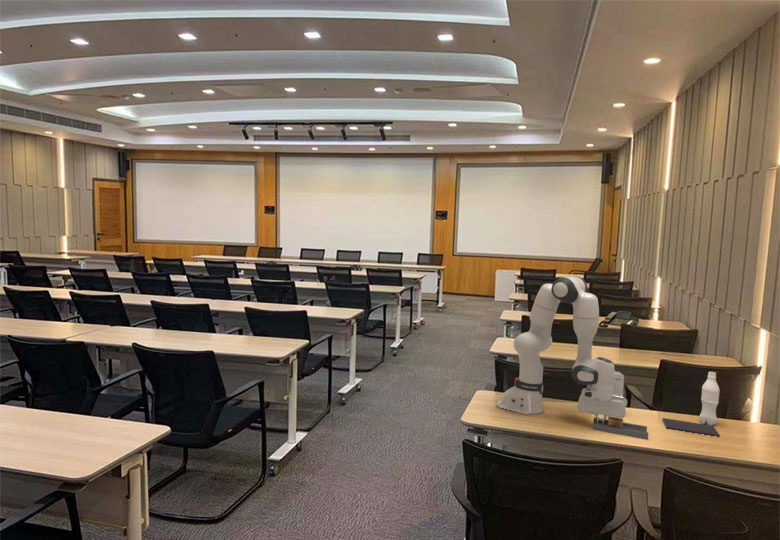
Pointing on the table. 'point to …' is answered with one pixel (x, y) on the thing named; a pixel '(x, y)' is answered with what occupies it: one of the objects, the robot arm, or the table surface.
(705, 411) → the water bottle
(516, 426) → the table surface
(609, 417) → the walnut block
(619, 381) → the hard drive box
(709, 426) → the notebook
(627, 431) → the grey parallel rails
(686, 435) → the table surface
